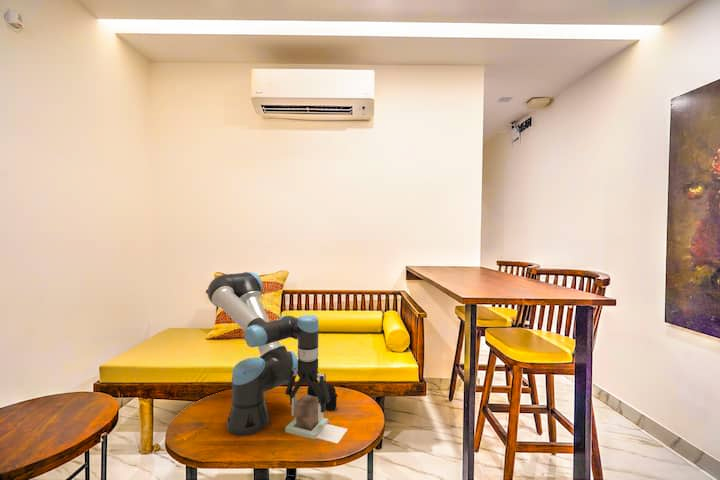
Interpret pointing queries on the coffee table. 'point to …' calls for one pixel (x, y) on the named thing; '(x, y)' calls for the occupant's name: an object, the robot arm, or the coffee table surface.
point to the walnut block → (307, 412)
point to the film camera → (332, 403)
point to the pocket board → (312, 434)
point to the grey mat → (332, 433)
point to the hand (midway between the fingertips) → (307, 416)
